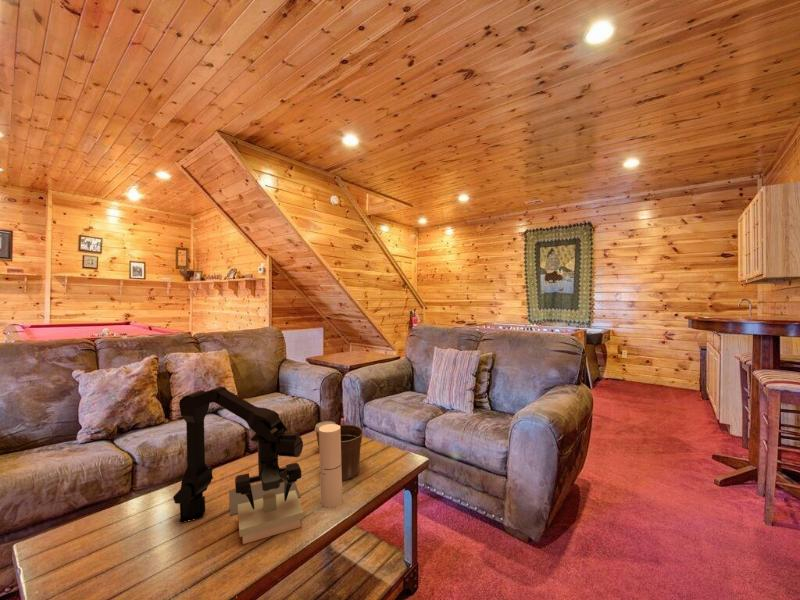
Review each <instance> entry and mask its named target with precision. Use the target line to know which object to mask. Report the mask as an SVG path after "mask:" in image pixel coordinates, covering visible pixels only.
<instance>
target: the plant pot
mask: <svg viewBox="0 0 800 600" xmlns="http://www.w3.org/2000/svg"><path fill="white" fill-rule="evenodd" d="M338 425H339V426H340V429H341V469H342V482H343V481H344V482H345V481H349V479H353V478H355V477H357V476H358V475H359V472H360V460H361V459H360V457H361V445H362V442H363V435H364V430H363V428H362V427H360V426H358V425H354V424H338Z"/></svg>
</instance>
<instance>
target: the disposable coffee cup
mask: <svg viewBox="0 0 800 600" xmlns="http://www.w3.org/2000/svg"><path fill="white" fill-rule="evenodd" d="M327 424H336V422H335V421H332V420H328V421H327V420H326V421H325V420H324V421H321V422H318V423H316V425H315V427H314V431H315V432H316V433H315V434H316V442H317V446H318V448H319V428H320V427H321V426H323V425H327Z"/></svg>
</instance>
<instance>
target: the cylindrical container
mask: <svg viewBox="0 0 800 600" xmlns="http://www.w3.org/2000/svg"><path fill="white" fill-rule="evenodd" d="M339 425H340V424H336V423H335V424H327V425H323V426H321V427H320V428H319V447H318V453H319V478H320V479H319V480H320V481H319V485H320V490H319V491H320V505H321V506H322V507H326V508H335V507H338V506H339V505H340V504H341V503H342V502H343V481H342V469H341V429H340V426H339Z"/></svg>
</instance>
